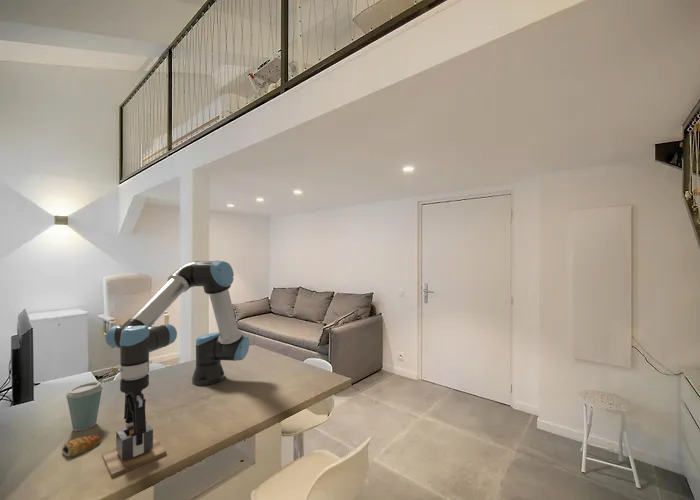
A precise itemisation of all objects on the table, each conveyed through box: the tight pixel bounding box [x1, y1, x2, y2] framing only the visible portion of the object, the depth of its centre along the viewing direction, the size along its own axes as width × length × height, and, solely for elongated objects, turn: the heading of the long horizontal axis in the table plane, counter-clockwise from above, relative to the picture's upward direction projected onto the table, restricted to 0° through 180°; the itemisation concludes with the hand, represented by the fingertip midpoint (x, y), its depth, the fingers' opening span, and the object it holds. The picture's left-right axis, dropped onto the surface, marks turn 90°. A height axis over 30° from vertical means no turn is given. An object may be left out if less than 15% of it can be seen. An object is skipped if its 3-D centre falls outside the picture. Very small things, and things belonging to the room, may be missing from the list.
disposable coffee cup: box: [65, 380, 103, 432], centre depth 116 cm, size 11×11×15 cm
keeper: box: [101, 429, 167, 478], centre depth 98 cm, size 14×14×8 cm
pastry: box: [61, 434, 101, 458], centre depth 102 cm, size 9×7×4 cm
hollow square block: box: [115, 421, 154, 461], centre depth 98 cm, size 8×8×6 cm
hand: (134, 448), depth 98 cm, fingers closed on hollow square block, 8 cm apart
